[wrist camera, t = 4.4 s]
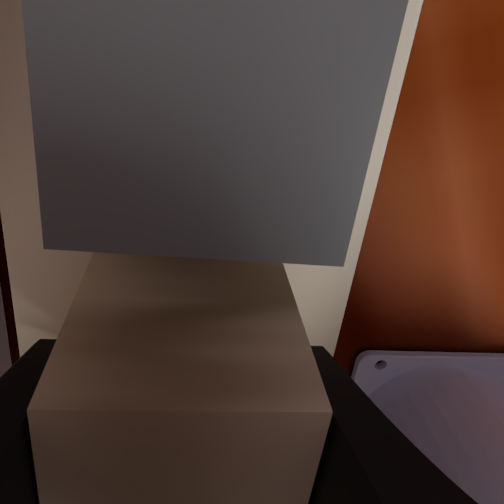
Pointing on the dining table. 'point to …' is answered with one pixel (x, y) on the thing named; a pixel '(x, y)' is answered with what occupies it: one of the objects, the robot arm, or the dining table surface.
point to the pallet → (170, 343)
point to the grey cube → (206, 123)
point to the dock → (3, 341)
